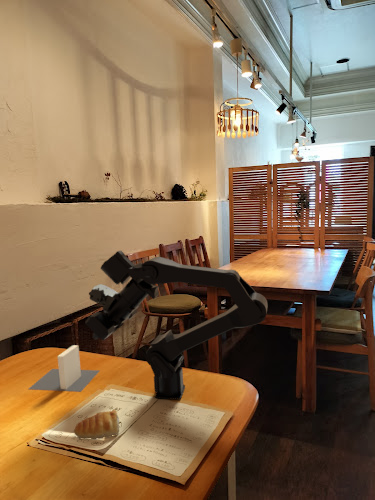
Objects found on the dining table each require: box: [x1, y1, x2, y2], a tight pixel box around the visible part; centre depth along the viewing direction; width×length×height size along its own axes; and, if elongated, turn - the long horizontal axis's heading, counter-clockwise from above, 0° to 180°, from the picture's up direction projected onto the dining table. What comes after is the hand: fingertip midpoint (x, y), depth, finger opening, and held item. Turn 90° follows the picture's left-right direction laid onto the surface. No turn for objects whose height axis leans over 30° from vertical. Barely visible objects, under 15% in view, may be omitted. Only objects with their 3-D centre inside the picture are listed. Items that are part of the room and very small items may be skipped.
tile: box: [57, 344, 82, 389], centre depth 100 cm, size 2×8×9 cm, turn 166°
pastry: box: [73, 409, 120, 440], centre depth 79 cm, size 9×7×4 cm
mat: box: [28, 368, 100, 393], centre depth 102 cm, size 15×12×1 cm
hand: (94, 337), depth 97 cm, fingers closed
